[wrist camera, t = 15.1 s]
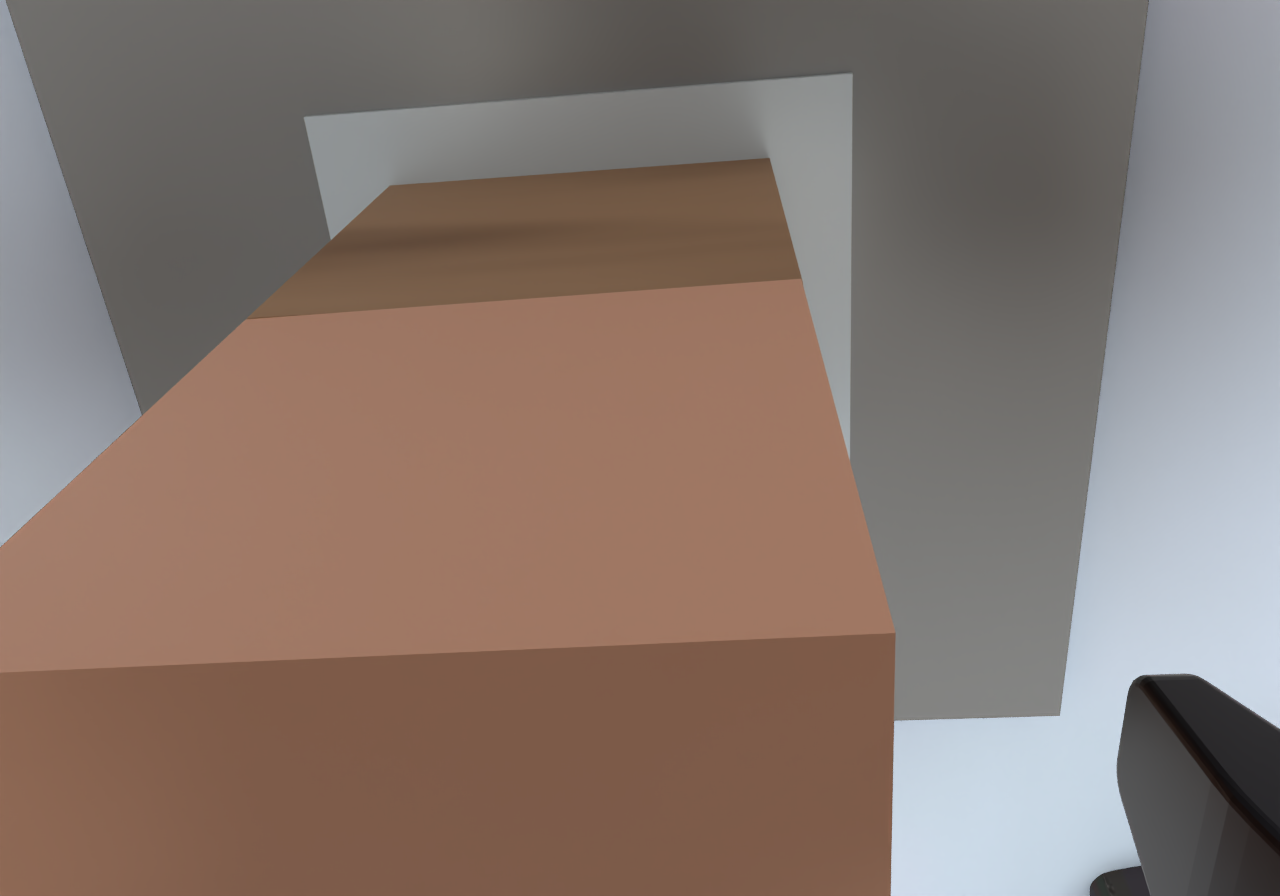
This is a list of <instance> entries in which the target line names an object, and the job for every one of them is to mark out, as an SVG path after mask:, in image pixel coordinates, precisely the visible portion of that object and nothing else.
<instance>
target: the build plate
mask: <svg viewBox="0 0 1280 896" xmlns="http://www.w3.org/2000/svg"><path fill="white" fill-rule="evenodd" d="M1148 2H1149V0H6V3H7V6H8V9H9V12H10V15H11V18H12V21H13V24H14V27H15V30H16V33H17V36H18V39H19V42H20V45H21V49H22V52H23V55H24V58H25V61H26V64H27V67H28V70H29V73H30V76H31V79H32V82H33V85H34V88H35V91H36V94H37V97H38V100H39V103H40V106H41V109H42V112H43V115H44V118H45V121H46V124H47V128H48V131H49V134H50V137H51V140H52V143H53V146H54V149H55V152H56V155H57V158H58V161H59V164H60V167H61V170H62V173H63V176H64V179H65V182H66V185H67V188H68V191H69V194H70V197H71V200H72V204H73V207H74V210H75V213H76V216H77V219H78V222H79V225H80V228H81V231H82V234H83V237H84V240H85V243H86V246H87V249H88V252H89V255H90V258H91V261H92V264H93V267H94V270H95V273H96V276H97V280H98V283H99V286H100V289H101V292H102V295H103V298H104V301H105V304H106V307H107V310H108V313H109V316H110V319H111V322H112V325H113V328H114V331H115V334H116V337H117V340H118V343H119V346H120V349H121V352H122V355H123V359H124V362H125V365H126V368H127V371H128V374H129V377H130V380H131V383H132V386H133V389H134V392H135V395H136V398H137V401H138V404H139V407H140V410H141V413H142V415H143V414H144V413H145V412H147V411H148V410H149V409H150V408H151V407H152V406H153V405H154V404H155V403H156V402H157V401H158V400H159V399H161V398H162V397H163V396H164V395H165V394H166V393H167V392H168V391H169V390H170V389H171V388H172V387H173V386H175V385H176V384H177V383H178V382H179V381H180V380H181V379H182V378H183V377H184V376H185V375H186V374H187V373H189V372H190V371H191V370H192V369H193V368H194V367H195V366H196V365H197V364H198V363H199V362H200V361H201V360H203V359H204V358H205V357H206V356H207V355H208V354H209V353H210V352H211V351H212V350H213V349H214V348H215V347H217V346H218V345H219V344H220V343H221V342H222V341H223V340H224V339H225V338H226V337H227V336H228V335H229V334H231V333H232V332H233V331H234V330H235V329H236V328H237V327H238V326H239V325H240V324H241V323H242V322H243V321H245V320H246V319H247V318H248V317H249V316H250V315H251V314H252V313H253V312H254V311H255V310H256V309H257V308H258V307H259V306H261V305H262V304H263V303H264V302H265V301H266V300H267V299H268V298H269V297H270V296H271V295H272V294H273V293H275V292H276V291H277V290H278V289H279V288H280V287H281V286H282V285H283V284H284V283H285V282H286V281H287V280H289V279H290V278H291V277H292V276H293V275H294V274H295V273H296V272H297V271H298V270H299V269H300V268H301V267H303V266H304V265H305V264H306V263H307V262H308V261H309V260H310V259H311V258H312V257H313V256H314V255H315V254H317V253H318V252H319V251H320V250H321V249H322V248H323V247H324V246H325V245H326V244H327V243H328V242H329V241H331V240H332V239H333V238H334V237H335V236H336V235H337V234H338V233H339V232H340V231H341V230H342V229H343V228H345V227H346V226H347V225H348V224H349V223H350V222H351V221H352V220H353V219H354V218H355V217H356V216H357V215H359V214H360V213H361V212H362V211H363V210H364V209H365V208H366V207H367V206H368V205H369V204H370V203H371V202H373V201H374V200H375V199H376V198H377V197H378V196H379V195H380V194H381V193H382V192H383V191H384V190H385V189H387V188H388V187H389V186H390V185H404V184H417V183H431V182H445V181H459V180H472V179H486V178H500V177H514V176H528V175H541V174H555V173H569V172H583V171H596V170H610V169H624V168H638V167H651V166H665V165H679V164H693V163H706V162H720V161H734V160H748V159H762V158H770V161H771V165H772V169H773V173H774V176H775V180H776V184H777V188H778V191H779V195H780V199H781V202H782V206H783V210H784V214H785V217H786V221H787V225H788V229H789V232H790V236H791V240H792V244H793V247H794V251H795V255H796V258H797V262H798V266H799V270H800V273H801V277H802V281H803V287H804V291H805V294H806V298H807V302H808V306H809V309H810V313H811V317H812V321H813V324H814V328H815V332H816V336H817V340H818V343H819V347H820V351H821V355H822V358H823V362H824V366H825V370H826V373H827V377H828V381H829V385H830V388H831V392H832V396H833V400H834V403H835V407H836V411H837V415H838V418H839V422H840V426H841V430H842V433H843V437H844V441H845V445H846V448H847V452H848V456H849V460H850V463H851V467H852V471H853V475H854V479H855V482H856V486H857V490H858V494H859V497H860V501H861V505H862V509H863V512H864V516H865V520H866V524H867V527H868V531H869V535H870V539H871V542H872V546H873V550H874V554H875V557H876V561H877V565H878V569H879V572H880V576H881V580H882V584H883V587H884V591H885V595H886V599H887V602H888V606H889V610H890V614H891V617H892V621H893V625H894V629H895V633H896V640H895V691H894V721H896V720H930V719H964V718H997V717H1031V716H1060V709H1061V701H1062V693H1063V685H1064V677H1065V669H1066V661H1067V653H1068V645H1069V637H1070V629H1071V621H1072V613H1073V605H1074V597H1075V589H1076V581H1077V573H1078V565H1079V556H1080V548H1081V540H1082V532H1083V524H1084V516H1085V508H1086V500H1087V492H1088V484H1089V476H1090V468H1091V460H1092V452H1093V444H1094V436H1095V428H1096V420H1097V412H1098V404H1099V396H1100V388H1101V380H1102V372H1103V364H1104V356H1105V348H1106V340H1107V331H1108V323H1109V315H1110V307H1111V299H1112V291H1113V283H1114V275H1115V267H1116V259H1117V251H1118V243H1119V235H1120V227H1121V219H1122V211H1123V203H1124V195H1125V187H1126V179H1127V171H1128V163H1129V155H1130V147H1131V139H1132V131H1133V123H1134V115H1135V106H1136V98H1137V90H1138V82H1139V74H1140V66H1141V58H1142V50H1143V42H1144V34H1145V26H1146V18H1147V10H1148Z"/></svg>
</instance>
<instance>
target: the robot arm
mask: <svg viewBox="0 0 1280 896" xmlns="http://www.w3.org/2000/svg"><path fill="white" fill-rule="evenodd" d="M1117 780H1118V787H1119V792H1120V796H1121V800H1122V803H1123V806H1124V809H1125V813H1126V816H1127V819H1128V823H1129V826H1130V829H1131V833H1132V836H1133V839H1134V843H1135V846H1136V849H1137V853H1138V856H1139V859H1140V863H1141V866H1142V869H1143V872H1144V876H1145V879H1146V882H1147V886H1148V889H1149V892H1150V896H1280V729H1279V728H1277V727H1276V726H1274V725H1273V724H1271V723H1270V722H1268V721H1267V720H1265V719H1264V718H1262V717H1261V716H1259V715H1258V714H1256V713H1255V712H1253V711H1252V710H1250V709H1249V708H1247V707H1245V706H1244V705H1242V704H1241V703H1239V702H1238V701H1236V700H1235V699H1233V698H1232V697H1230V696H1229V695H1227V694H1226V693H1224V692H1223V691H1221V690H1220V689H1218V688H1217V687H1215V686H1214V685H1212V684H1210V683H1209V682H1207V681H1206V680H1204V679H1202V678H1200V677H1198V676H1196V675H1192V674H1160V675H1142V676H1140V677H1138V678H1136V679H1135V680H1134V681H1133V682H1132V684H1131V686H1130V688H1129V691H1128V696H1127V702H1126V708H1125V714H1124V720H1123V727H1122V733H1121V739H1120V745H1119V751H1118V758H1117Z"/></svg>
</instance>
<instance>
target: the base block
mask: <svg viewBox="0 0 1280 896" xmlns="http://www.w3.org/2000/svg"><path fill="white" fill-rule="evenodd" d="M790 279H802V277H801V273H800V270H799V266H798V262H797V258H796V255H795V251H794V247H793V244H792V240H791V236H790V232H789V229H788V225H787V221H786V217H785V214H784V210H783V206H782V202H781V199H780V195H779V191H778V188H777V184H776V180H775V176H774V173H773V169H772V165H771V161H770V158H762V159H748V160H734V161H720V162H706V163H693V164H679V165H665V166H651V167H638V168H624V169H610V170H596V171H583V172H569V173H555V174H541V175H528V176H514V177H500V178H486V179H472V180H459V181H445V182H431V183H417V184H404V185H390V186H389V187H388V188H387V189H385V190H384V191H383V192H382V193H381V194H380V195H379V196H378V197H377V198H376V199H375V200H374V201H373V202H371V203H370V204H369V205H368V206H367V207H366V208H365V209H364V210H363V211H362V212H361V213H360V214H359V215H357V216H356V217H355V218H354V219H353V220H352V221H351V222H350V223H349V224H348V225H347V226H346V227H345V228H343V229H342V230H341V231H340V232H339V233H338V234H337V235H336V236H335V237H334V238H333V239H332V240H331V241H329V242H328V243H327V244H326V245H325V246H324V247H323V248H322V249H321V250H320V251H319V252H318V253H317V254H315V255H314V256H313V257H312V258H311V259H310V260H309V261H308V262H307V263H306V264H305V265H304V266H303V267H301V268H300V269H299V270H298V271H297V272H296V273H295V274H294V275H293V276H292V277H291V278H290V279H289V280H287V281H286V282H285V283H284V284H283V285H282V286H281V287H280V288H279V289H278V290H277V291H276V292H275V293H273V294H272V295H271V296H270V297H269V298H268V299H267V300H266V301H265V302H264V303H263V304H262V305H261V306H259V307H258V308H257V309H256V310H255V311H254V312H253V313H252V314H251V315H250V316H249V317H248V318H247V319H258V318H271V317H285V316H298V315H312V314H326V313H339V312H353V311H367V310H380V309H394V308H408V307H421V306H435V305H449V304H462V303H476V302H489V301H503V300H517V299H530V298H544V297H558V296H571V295H585V294H599V293H612V292H626V291H640V290H653V289H667V288H681V287H694V286H708V285H721V284H735V283H749V282H762V281H776V280H790ZM802 283H803V281H802Z"/></svg>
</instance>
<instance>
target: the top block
mask: <svg viewBox="0 0 1280 896" xmlns="http://www.w3.org/2000/svg"><path fill="white" fill-rule="evenodd" d="M895 640H896V633H895V629H894V625H893V621H892V617H891V614H890V610H889V606H888V602H887V599H886V595H885V591H884V587H883V584H882V580H881V576H880V572H879V569H878V565H877V561H876V557H875V554H874V550H873V546H872V542H871V539H870V535H869V531H868V527H867V524H866V520H865V516H864V512H863V509H862V505H861V501H860V497H859V494H858V490H857V486H856V482H855V479H854V475H853V471H852V467H851V463H850V460H849V456H848V452H847V448H846V445H845V441H844V437H843V433H842V430H841V426H840V422H839V418H838V415H837V411H836V407H835V403H834V400H833V396H832V392H831V388H830V385H829V381H828V377H827V373H826V370H825V366H824V362H823V358H822V355H821V351H820V347H819V343H818V340H817V336H816V332H815V328H814V324H813V321H812V317H811V313H810V309H809V306H808V302H807V298H806V294H805V291H804V287H803V283H802V279H790V280H776V281H762V282H749V283H735V284H721V285H708V286H694V287H681V288H667V289H653V290H640V291H626V292H612V293H599V294H585V295H571V296H558V297H544V298H530V299H517V300H503V301H489V302H476V303H462V304H449V305H435V306H421V307H408V308H394V309H380V310H367V311H353V312H339V313H326V314H312V315H298V316H285V317H271V318H258V319H246V320H245V321H243V322H242V323H241V324H240V325H239V326H238V327H237V328H236V329H235V330H234V331H233V332H232V333H231V334H229V335H228V336H227V337H226V338H225V339H224V340H223V341H222V342H221V343H220V344H219V345H218V346H217V347H215V348H214V349H213V350H212V351H211V352H210V353H209V354H208V355H207V356H206V357H205V358H204V359H203V360H201V361H200V362H199V363H198V364H197V365H196V366H195V367H194V368H193V369H192V370H191V371H190V372H189V373H187V374H186V375H185V376H184V377H183V378H182V379H181V380H180V381H179V382H178V383H177V384H176V385H175V386H173V387H172V388H171V389H170V390H169V391H168V392H167V393H166V394H165V395H164V396H163V397H162V398H161V399H159V400H158V401H157V402H156V403H155V404H154V405H153V406H152V407H151V408H150V409H149V410H148V411H147V412H145V413H144V414H143V415H142V416H141V417H140V418H139V419H138V420H137V421H136V422H135V423H134V424H133V425H132V426H130V427H129V428H128V429H127V430H126V431H125V432H124V433H123V434H122V435H121V436H120V437H119V438H118V439H116V440H115V441H114V442H113V443H112V444H111V445H110V446H109V447H108V448H107V449H106V450H105V451H104V452H102V453H101V454H100V455H99V456H98V457H97V458H96V459H95V460H94V461H93V462H92V463H91V464H90V465H88V466H87V467H86V468H85V469H84V470H83V471H82V472H81V473H80V474H79V475H78V476H77V477H76V478H74V479H73V480H72V481H71V482H70V483H69V484H68V485H67V486H66V487H65V488H64V489H63V490H62V491H60V492H59V493H58V494H57V495H56V496H55V497H54V498H53V499H52V500H51V501H50V502H49V503H48V504H46V505H45V506H44V507H43V508H42V509H41V510H40V511H39V512H38V513H37V514H36V515H35V516H34V517H32V518H31V519H30V520H29V521H28V522H27V523H26V524H25V525H24V526H23V527H22V528H21V529H20V530H18V531H17V532H16V533H15V534H14V535H13V536H12V537H11V538H10V539H9V540H8V541H7V542H6V543H4V544H3V545H2V546H1V547H0V896H890V893H891V842H892V792H893V741H894V691H895Z"/></svg>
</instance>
